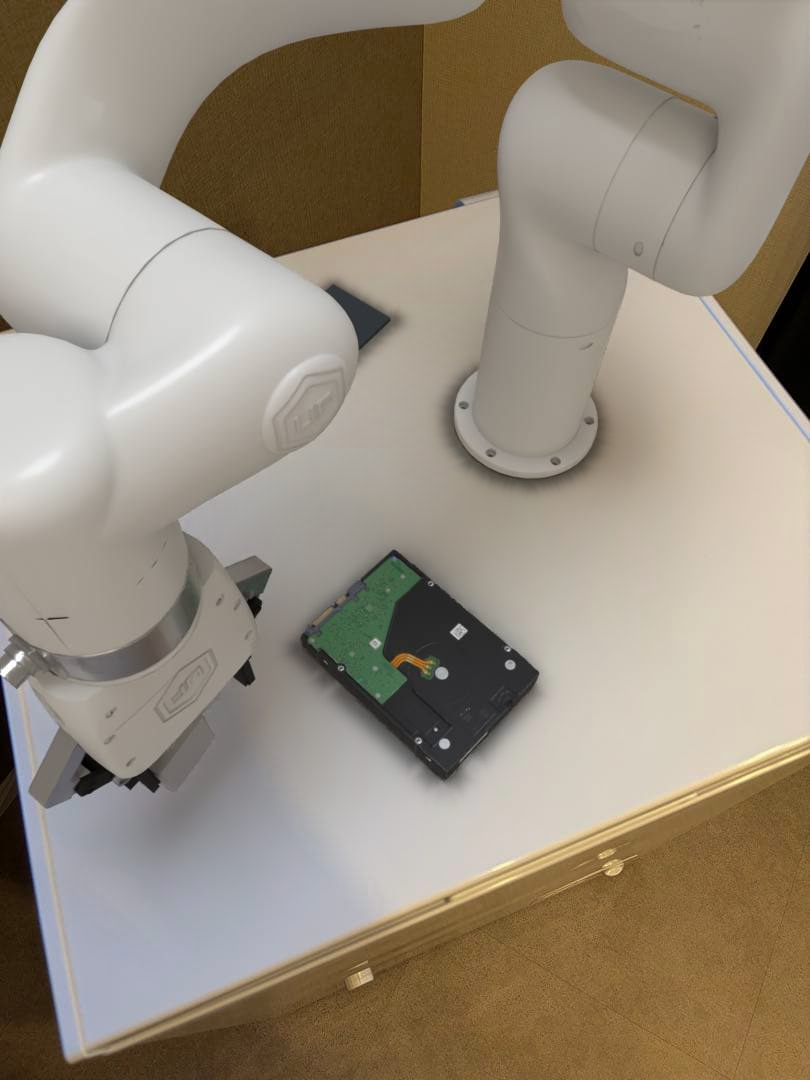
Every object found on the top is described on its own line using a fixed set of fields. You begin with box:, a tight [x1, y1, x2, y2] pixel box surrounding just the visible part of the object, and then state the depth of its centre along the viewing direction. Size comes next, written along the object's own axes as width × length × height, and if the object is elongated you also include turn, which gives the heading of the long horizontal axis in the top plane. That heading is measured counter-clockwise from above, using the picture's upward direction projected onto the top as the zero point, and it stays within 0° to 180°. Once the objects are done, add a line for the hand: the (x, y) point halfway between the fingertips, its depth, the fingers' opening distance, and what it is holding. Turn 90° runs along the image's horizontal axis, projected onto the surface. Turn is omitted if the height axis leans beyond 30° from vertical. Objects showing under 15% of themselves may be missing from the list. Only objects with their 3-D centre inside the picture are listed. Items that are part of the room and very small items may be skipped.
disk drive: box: [300, 548, 540, 781], centre depth 65 cm, size 10×3×15 cm
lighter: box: [149, 691, 221, 793], centre depth 52 cm, size 7×2×8 cm, turn 149°
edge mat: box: [324, 283, 391, 351], centre depth 83 cm, size 8×7×1 cm
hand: (187, 719), depth 52 cm, fingers closed on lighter, 7 cm apart
